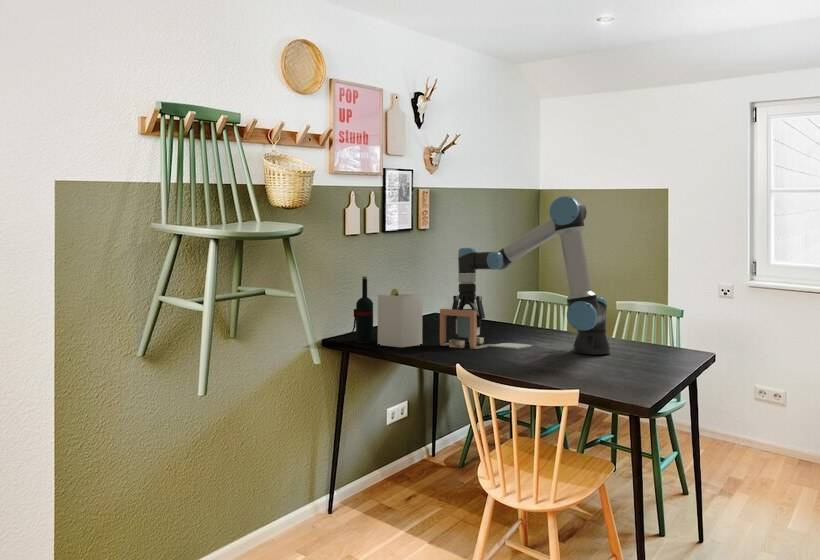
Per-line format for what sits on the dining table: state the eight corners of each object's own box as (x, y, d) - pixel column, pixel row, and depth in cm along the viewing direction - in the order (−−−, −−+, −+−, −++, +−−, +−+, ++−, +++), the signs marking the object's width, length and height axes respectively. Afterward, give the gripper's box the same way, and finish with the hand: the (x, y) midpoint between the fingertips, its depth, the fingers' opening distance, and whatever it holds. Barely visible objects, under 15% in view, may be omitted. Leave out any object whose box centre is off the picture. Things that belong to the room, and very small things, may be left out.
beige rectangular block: (483, 344, 287) (483, 337, 287) (460, 348, 274) (460, 341, 274) (472, 343, 291) (472, 336, 291) (449, 346, 277) (449, 339, 277)
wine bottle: (355, 341, 296) (355, 276, 296) (375, 342, 293) (376, 276, 292) (348, 343, 289) (348, 276, 288) (369, 344, 286) (369, 276, 285)
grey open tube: (452, 336, 282) (451, 309, 282) (466, 335, 289) (466, 308, 289) (470, 338, 275) (469, 310, 275) (484, 336, 282) (484, 309, 282)
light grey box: (422, 344, 286) (422, 295, 285) (401, 347, 275) (401, 295, 274) (398, 342, 295) (398, 294, 294) (377, 344, 284) (377, 294, 284)
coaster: (532, 346, 281) (532, 344, 281) (516, 349, 271) (516, 347, 271) (506, 343, 289) (506, 342, 289) (490, 346, 279) (490, 345, 279)
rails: (494, 345, 282) (494, 344, 282) (474, 348, 271) (474, 347, 271) (460, 342, 294) (460, 341, 294) (440, 345, 283) (440, 344, 283)
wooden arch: (476, 346, 272) (476, 310, 272) (473, 346, 270) (473, 311, 270) (442, 343, 284) (442, 308, 283) (439, 343, 282) (439, 309, 282)
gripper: (493, 283, 277) (493, 335, 278) (452, 283, 292) (452, 332, 292) (483, 283, 272) (484, 336, 272) (441, 283, 286) (442, 333, 286)
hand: (467, 334), depth 282 cm, fingers closed on grey open tube, 9 cm apart
